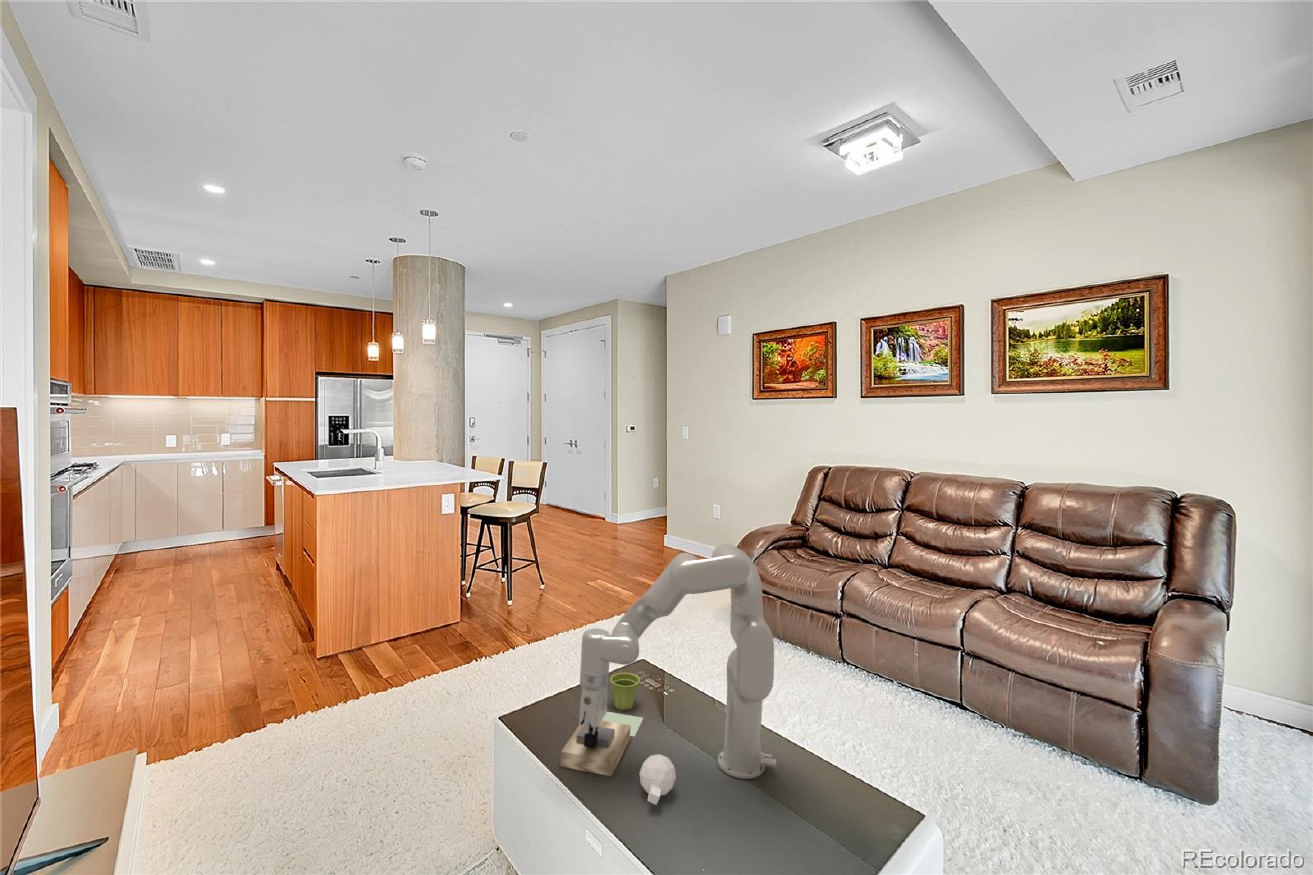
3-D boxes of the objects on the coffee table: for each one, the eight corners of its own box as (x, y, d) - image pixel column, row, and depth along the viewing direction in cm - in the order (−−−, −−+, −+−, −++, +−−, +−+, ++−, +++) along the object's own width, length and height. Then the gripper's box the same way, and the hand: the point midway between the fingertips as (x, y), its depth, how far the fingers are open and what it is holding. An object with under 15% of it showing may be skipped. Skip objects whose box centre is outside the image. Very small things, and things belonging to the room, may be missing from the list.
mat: (643, 718, 173) (643, 717, 173) (634, 737, 163) (634, 736, 163) (594, 710, 177) (594, 709, 177) (582, 728, 166) (582, 727, 166)
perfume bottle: (637, 770, 144) (630, 806, 132) (649, 740, 143) (643, 774, 131) (669, 783, 144) (664, 821, 132) (681, 753, 142) (678, 789, 130)
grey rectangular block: (614, 736, 155) (614, 729, 155) (608, 748, 150) (608, 740, 149) (583, 731, 157) (583, 724, 157) (576, 742, 151) (576, 735, 151)
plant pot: (643, 704, 182) (645, 678, 182) (627, 716, 174) (628, 688, 174) (620, 696, 187) (621, 670, 187) (603, 707, 179) (604, 680, 179)
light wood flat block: (629, 739, 162) (630, 725, 162) (611, 776, 144) (612, 761, 144) (584, 731, 165) (584, 717, 165) (560, 766, 147) (561, 751, 147)
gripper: (599, 692, 140) (595, 764, 141) (615, 668, 155) (612, 733, 155) (570, 688, 142) (567, 759, 142) (589, 664, 157) (586, 729, 157)
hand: (590, 745), depth 149 cm, fingers closed
